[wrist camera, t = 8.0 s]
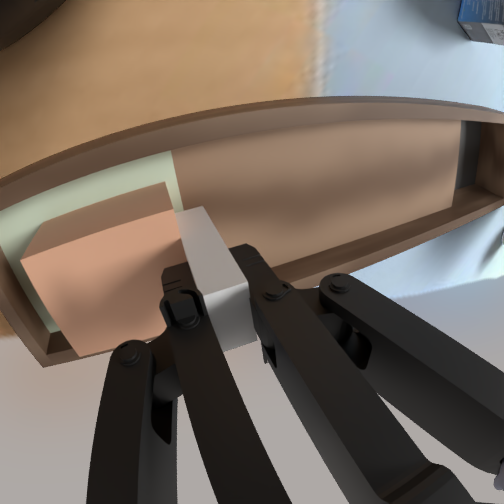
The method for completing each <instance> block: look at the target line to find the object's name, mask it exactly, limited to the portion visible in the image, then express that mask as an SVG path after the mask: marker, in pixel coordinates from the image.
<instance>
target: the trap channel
mask: <svg viewBox="0 0 504 504" xmlns="http://www.w3.org/2000/svg"><path fill="white" fill-rule="evenodd" d="M164 181H165V183H166V186H167V190H168V193H169V196H170V199H171V203H172V206H173V209H174V213H178V212H182V211H185V210H189V209H193V208H196V207H200V206H203V207H204V209H205V210H206V212H207V214H208V216H209V217H210V219H211V221H212V222H213V224H214V226H215V227H216V229H217V231H218V233H219V234H220V236H221V238H222V239H223V241H224V243H225V244H226V246H227V248H232V247H235V246H238V245H242V244H245V243H247V244H249V245H251V246H253V247H255V248H256V249H257V251H258V252H259V253H260V255H261V256H262V257H263V259H264V260H265V261H266V262H267V264H268V265H269V266H270V268H271V269H272V270H273V272H274V273H275V274H276V276H277V277H278V278H279V280H283V281H286V282H289V283H290V284H291V285H292V286H294V288H296V289H308V288H313V287H316V286H318V285H319V284H320V281H321V280H322V279H323V278H324V277H325V276H327V275H329V274H332V273H344V274H350V273H352V272H355V271H357V270H360V269H362V268H365V267H367V266H370V265H372V264H375V263H377V262H380V261H382V260H385V259H387V258H389V257H392V256H394V255H397V254H399V253H401V252H404V251H406V250H408V249H411V248H413V247H415V246H418V245H420V244H422V243H425V242H427V241H429V240H431V239H434V238H436V237H438V236H440V235H443V234H445V233H447V232H449V231H451V230H453V229H456V228H458V227H460V226H462V225H464V224H466V223H468V222H471V221H473V220H475V219H477V218H479V217H481V216H483V215H485V214H487V213H489V212H491V211H493V210H495V209H497V208H499V207H501V206H503V205H504V112H501V111H498V110H494V109H491V108H487V107H482V106H476V105H470V104H464V103H457V102H449V101H441V100H432V99H421V98H407V97H387V96H331V97H310V98H296V99H284V100H274V101H265V102H257V103H249V104H242V105H235V106H229V107H223V108H217V109H211V110H206V111H201V112H196V113H191V114H186V115H181V116H177V117H172V118H168V119H164V120H160V121H156V122H152V123H148V124H144V125H141V126H137V127H133V128H130V129H127V130H123V131H120V132H117V133H113V134H110V135H107V136H104V137H101V138H98V139H95V140H92V141H89V142H86V143H83V144H81V145H78V146H75V147H72V148H70V149H67V150H65V151H62V152H59V153H57V154H54V155H52V156H50V157H47V158H45V159H42V160H40V161H38V162H35V163H33V164H31V165H29V166H27V167H24V168H22V169H20V170H18V171H16V172H14V173H12V174H10V175H8V176H6V177H4V178H2V179H0V310H1V312H2V313H3V315H4V316H5V318H6V319H7V321H8V322H9V324H10V325H11V327H12V328H13V329H14V331H15V332H16V334H17V335H18V336H19V338H20V339H21V341H22V342H23V343H24V345H25V346H26V347H27V348H28V350H29V351H30V352H31V353H32V355H33V356H34V357H35V359H36V360H37V361H38V362H39V363H40V365H41V366H42V367H43V368H44V367H48V366H53V365H57V364H61V363H66V362H70V361H74V360H79V359H83V358H87V357H91V356H95V355H99V354H103V353H106V352H111V351H114V350H115V349H116V348H113V349H109V350H105V351H101V352H97V353H93V354H90V355H86V356H82V357H79V355H78V354H77V353H76V351H75V350H74V349H73V347H72V346H71V344H70V343H69V342H68V340H67V339H66V337H65V336H64V334H63V333H62V331H61V330H60V329H59V327H58V325H57V324H56V322H55V321H54V319H53V318H52V316H51V315H50V313H49V311H48V310H47V308H46V307H45V305H44V303H43V302H42V300H41V298H40V296H39V295H38V293H37V291H36V290H35V288H34V286H33V284H32V282H31V281H30V279H29V277H28V275H27V273H26V271H25V269H24V267H23V265H22V263H21V261H20V260H21V258H22V256H23V254H24V252H25V251H26V249H27V247H28V246H29V244H30V242H31V241H32V239H33V237H34V236H35V234H36V232H37V231H38V229H39V228H40V226H41V225H42V223H43V222H45V221H47V220H50V219H52V218H55V217H57V216H60V215H63V214H65V213H68V212H71V211H74V210H76V209H79V208H82V207H85V206H88V205H91V204H93V203H96V202H99V201H102V200H105V199H108V198H111V197H114V196H118V195H121V194H124V193H127V192H130V191H134V190H137V189H140V188H144V187H147V186H150V185H154V184H157V183H161V182H164ZM159 336H160V335H159ZM157 337H158V336H156V337H152V338H149V339H145V340H142V341H143V342H147V341H151V340H154V339H156V338H157Z"/></svg>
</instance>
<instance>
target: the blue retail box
mask: <svg viewBox="0 0 504 504" xmlns="http://www.w3.org/2000/svg"><path fill="white" fill-rule="evenodd" d="M458 22H459V24H460V25H461V26H462V28H463V29H464V31H465V32H466V33H467V35H468V36H469V38H470V39H471V40H472V41H476V42H485V43H492V44H498V45H504V0H462V3H461V8H460V13H459V17H458Z"/></svg>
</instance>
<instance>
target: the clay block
mask: <svg viewBox="0 0 504 504" xmlns="http://www.w3.org/2000/svg"><path fill="white" fill-rule="evenodd" d="M20 261H21V263H22V265H23V267H24V269H25V271H26V273H27V275H28V277H29V279H30V281H31V282H32V284H33V286H34V288H35V290H36V291H37V293H38V295H39V296H40V298H41V300H42V302H43V303H44V305H45V307H46V308H47V310H48V311H49V313H50V315H51V316H52V318H53V319H54V321H55V322H56V324H57V325H58V327H59V329H60V330H61V331H62V333H63V334H64V336H65V337H66V339H67V340H68V342H69V343H70V344H71V346H72V347H73V349H74V350H75V351H76V353H77V354H78V355H79V357H82V356H86V355H90V354H93V353H97V352H101V351H105V350H109V349H113V348H116V347H117V346H118V345H120V344H122V343H123V342H125V341H129V340H133V339H135V340H141V341H142V340H145V339H149V338H152V337H156V336H159V335H161V334H162V333H163V332H164V331H165V329H166V327H167V325H166V323H165V321H164V318H163V316H162V313H161V311H160V309H159V304H160V301H161V299H162V298H163V296H164V292H163V287H162V282H161V275H162V273H163V270H164V268H167V267H170V266H174V265H177V264H180V263H184V262H187V258H186V255H185V251H184V247H183V244H182V240H181V236H180V232H179V228H178V224H177V221H176V217H175V213H174V209H173V206H172V203H171V199H170V196H169V193H168V190H167V186H166V183H165V181H164V182H161V183H157V184H154V185H150V186H147V187H144V188H140V189H137V190H134V191H130V192H127V193H124V194H121V195H118V196H114V197H111V198H108V199H105V200H102V201H99V202H96V203H93V204H91V205H88V206H85V207H82V208H79V209H76V210H74V211H71V212H68V213H65V214H63V215H60V216H57V217H55V218H52V219H50V220H47V221H45V222H43V223H42V225H41V226H40V228H39V229H38V231H37V232H36V234H35V236H34V237H33V239H32V241H31V242H30V244H29V246H28V247H27V249H26V251H25V252H24V254H23V256H22V258H21V260H20Z"/></svg>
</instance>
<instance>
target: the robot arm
mask: <svg viewBox="0 0 504 504" xmlns="http://www.w3.org/2000/svg"><path fill="white" fill-rule="evenodd" d="M64 1H65V0H0V51H1V50H2V49H4V48H6V47H7V46H9V45H11V44H12V43H14V42H15V41H17V40H18V39H20V38H21V37H23V36H24V35H25V34H27V33H28V32H29V31H31V30H32V29H33V28H35V27H36V26H37V25H38V24H40V23H41V22H42V21H43V20H44V19H46V18H47V17H48V16H49V15H50V14H51V13H52V12H54V11H55V10H56V9H57V8H58V7H59V6H60V5H61V4H62V3H63V2H64ZM175 217H176V221H177V224H178V228H179V232H180V236H181V240H182V244H183V247H184V251H185V255H186V258H187V262H184V263H180V264H177V265H174V266H170V267H167V268H164V270H163V273H162V275H161V282H162V287H163V292H164V296H163V298H162V299H161V301H160V304H159V309H160V311H161V313H162V316H163V318H164V321H165V323H166V325H167V327H166V329H165V331H164V332H163V333H162V334H161V335H160V336H158V337H157V338H156V339H154V340H152V341H151V342H149V343H145V342H143V341H141V340H135V339H133V340H129V341H125V342H123V343H122V344H120V345H118V346H117V347H116V349H115V350H114V351H113V353H112V355H111V357H110V361H109V365H108V369H107V373H106V378H105V382H104V387H103V391H102V396H101V401H100V406H99V411H98V417H97V422H96V428H95V434H94V440H93V447H92V453H91V462H90V469H89V478H88V488H87V499H86V504H177V461H176V460H177V403H178V399H177V397H179V396H181V395H182V394H183V396H184V400H185V403H186V407H187V411H188V414H189V418H190V421H191V424H192V428H193V431H194V435H195V438H196V441H197V444H198V447H199V450H200V454H201V457H202V460H203V462H204V466H205V468H206V472H207V474H208V477H209V480H210V483H211V486H212V488H213V491H214V494H215V496H216V499H217V502H218V504H292V502H291V501H290V499H289V497H288V495H287V493H286V491H285V489H284V487H283V485H282V483H281V481H280V479H279V477H278V475H277V473H276V471H275V469H274V467H273V465H272V463H271V461H270V459H269V457H268V455H267V452H266V450H265V448H264V446H263V444H262V442H261V440H260V438H259V435H258V433H257V431H256V429H255V426H254V424H253V422H252V420H251V418H250V415H249V413H248V411H247V409H246V406H245V404H244V402H243V399H242V397H241V395H240V392H239V390H238V388H237V385H236V383H235V380H234V378H233V376H232V373H231V371H230V368H229V366H228V363H227V361H226V359H225V356H224V354H223V352H225V351H228V350H230V349H234V348H237V347H240V346H242V345H246V344H248V343H251V342H254V341H256V340H257V335H258V336H259V338H260V340H261V345H262V352H263V359H264V363H265V364H266V363H267V360H268V362H269V364H270V365H271V367H272V369H273V371H274V373H275V375H276V377H277V379H278V380H279V382H280V384H281V386H282V388H283V390H284V392H285V393H286V395H287V397H288V399H289V401H290V402H291V404H292V406H293V408H294V409H295V411H296V413H297V415H298V417H299V418H300V420H301V422H302V424H303V426H304V427H305V429H306V431H307V433H308V434H309V436H310V438H311V440H312V441H313V443H314V445H315V447H316V448H317V450H318V452H319V454H320V455H321V457H322V459H323V460H324V462H325V464H326V466H327V467H328V469H329V470H330V472H331V474H332V475H333V477H334V479H335V481H336V482H337V484H338V486H339V487H340V489H341V490H342V492H343V494H344V495H345V497H346V499H347V500H348V502H349V504H493V503H481V502H475V501H474V500H473V498H472V497H471V496H470V494H469V493H468V492H467V490H466V489H465V488H464V486H463V485H462V484H461V482H460V481H459V480H458V479H457V477H456V476H455V475H454V474H453V472H451V470H450V469H448V468H447V467H445V466H443V465H439V464H435V463H432V462H430V461H429V460H428V459H426V457H425V456H424V455H423V453H422V452H421V451H420V450H419V448H418V447H417V446H416V444H415V443H414V442H413V440H412V439H411V438H410V436H409V435H408V434H407V432H406V431H405V430H404V428H403V427H402V426H401V424H400V423H399V422H398V421H397V419H396V418H395V416H394V415H393V414H392V413H391V411H390V410H389V409H388V407H387V406H386V405H385V403H384V402H383V401H382V400H381V398H380V397H379V396H378V394H379V395H380V396H381V397H383V398H384V399H385V400H386V401H388V402H389V403H390V404H391V405H393V406H394V407H395V408H396V409H398V410H399V411H401V412H402V413H403V414H404V415H406V416H407V417H408V418H410V419H411V420H412V421H413V422H414V423H416V424H417V425H419V426H420V427H421V428H422V429H424V430H425V431H426V432H427V433H429V434H430V435H431V436H433V437H434V438H435V439H437V440H438V441H440V442H441V443H442V444H443V445H445V446H446V447H447V448H449V449H450V450H451V451H453V452H454V453H455V454H457V455H458V456H460V457H461V458H462V459H464V460H465V461H466V462H468V463H469V464H471V465H473V466H474V467H476V468H478V469H480V470H483V471H485V472H487V473H491V474H495V475H497V476H496V478H495V479H494V487H495V488H496V489H497V490H502V489H503V490H504V373H503V372H502V371H501V370H499V369H498V368H496V367H495V366H493V365H492V364H490V363H489V362H487V361H486V360H484V359H483V358H481V357H480V356H478V355H477V354H475V353H474V352H472V351H471V350H469V349H468V348H466V347H465V346H463V345H462V344H460V343H459V342H457V341H455V340H454V339H452V338H451V337H449V336H448V335H446V334H445V333H443V332H441V331H440V330H438V329H437V328H435V327H433V326H432V325H430V324H429V323H427V322H426V321H424V320H423V319H421V318H419V317H418V316H416V315H415V314H413V313H412V312H410V311H408V310H407V309H405V308H404V307H402V306H400V305H399V304H397V303H396V302H394V301H392V300H391V299H389V298H387V297H386V296H384V295H383V294H381V293H379V292H378V291H376V290H374V289H373V288H371V287H369V286H368V285H366V284H364V283H363V282H361V281H359V280H358V279H356V278H354V277H353V276H350V275H348V274H344V273H332V274H329V275H327V276H325V277H324V278H323V279H322V280H321V281H320V284H319V287H317V288H308V289H296V288H294V286H292V285H291V284H290V283H289V282H286V281H283V280H279V278H278V277H277V276H276V274H275V273H274V272H273V270H272V269H271V268H270V266H269V265H268V264H267V262H266V261H265V260H264V259H263V257H262V256H261V255H260V253H259V252H258V251H257V249H256V248H255V247H253V246H251V245H249V244H247V243H245V244H242V245H238V246H235V247H232V248H227V246H226V244H225V243H224V241H223V239H222V238H221V236H220V234H219V233H218V231H217V229H216V227H215V226H214V224H213V222H212V221H211V219H210V217H209V216H208V214H207V212H206V210H205V209H204V207H203V206H200V207H196V208H193V209H189V210H185V211H182V212H178V213H175ZM256 333H257V335H256ZM377 393H378V394H377Z"/></svg>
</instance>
